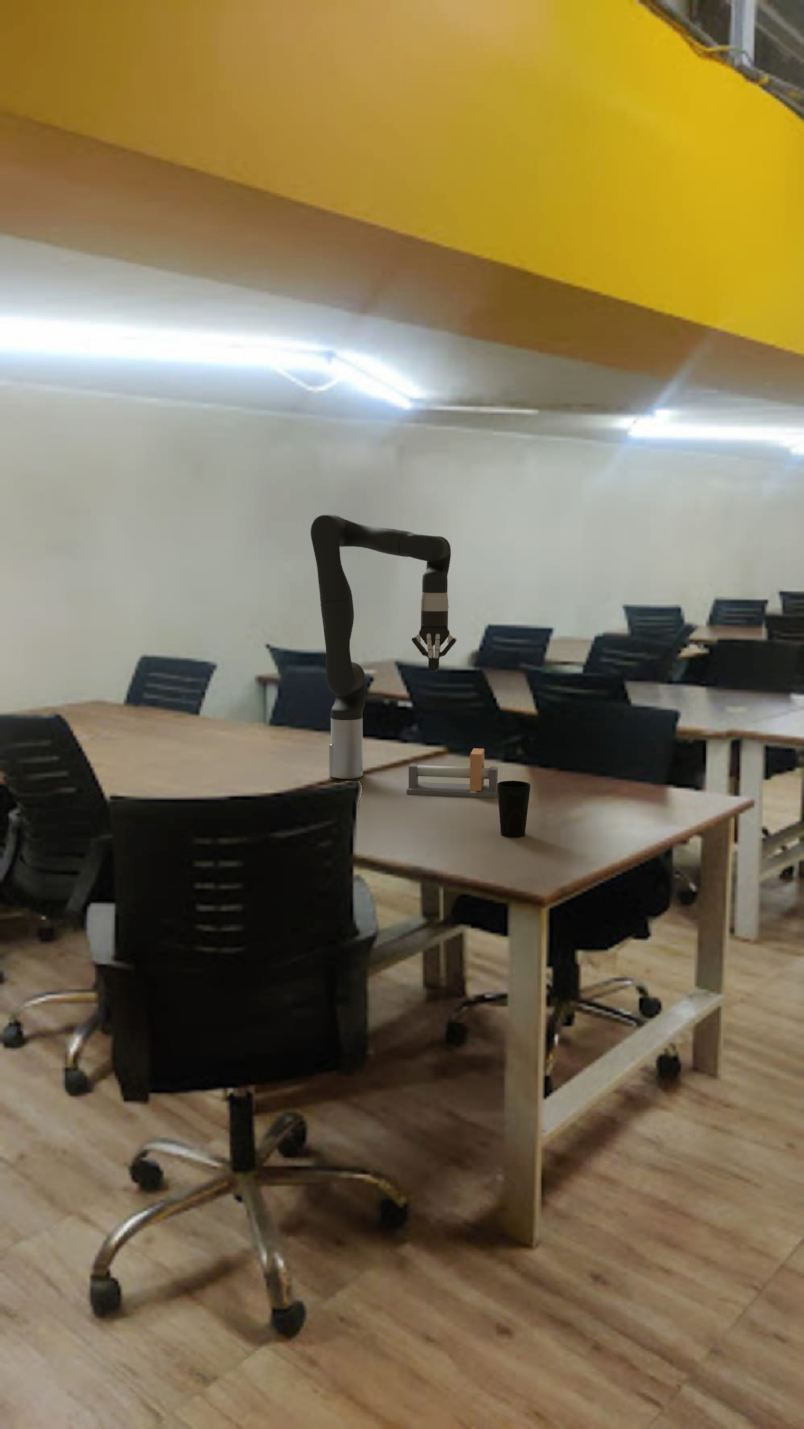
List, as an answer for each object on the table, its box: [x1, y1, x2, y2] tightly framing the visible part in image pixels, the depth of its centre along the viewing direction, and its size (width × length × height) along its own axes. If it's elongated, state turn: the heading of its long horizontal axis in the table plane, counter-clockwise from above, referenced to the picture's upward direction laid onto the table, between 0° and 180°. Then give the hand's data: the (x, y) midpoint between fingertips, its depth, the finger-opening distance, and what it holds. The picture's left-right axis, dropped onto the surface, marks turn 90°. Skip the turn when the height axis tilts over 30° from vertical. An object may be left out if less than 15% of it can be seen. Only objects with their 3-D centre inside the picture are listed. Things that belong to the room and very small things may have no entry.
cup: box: [497, 780, 532, 839], centre depth 238 cm, size 8×8×12 cm
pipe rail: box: [406, 763, 499, 799], centre depth 280 cm, size 24×10×7 cm, turn 80°
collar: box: [469, 747, 485, 791], centre depth 278 cm, size 3×8×10 cm, turn 170°
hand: (433, 671), depth 286 cm, fingers closed
